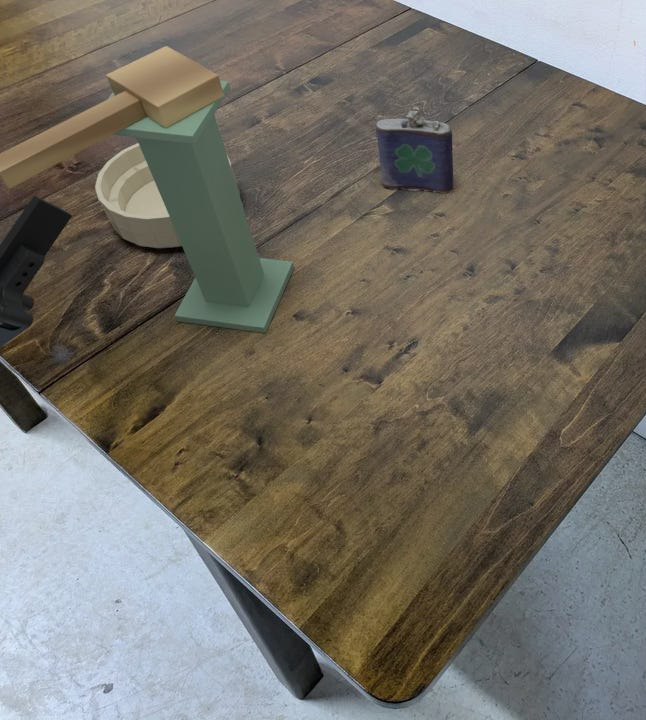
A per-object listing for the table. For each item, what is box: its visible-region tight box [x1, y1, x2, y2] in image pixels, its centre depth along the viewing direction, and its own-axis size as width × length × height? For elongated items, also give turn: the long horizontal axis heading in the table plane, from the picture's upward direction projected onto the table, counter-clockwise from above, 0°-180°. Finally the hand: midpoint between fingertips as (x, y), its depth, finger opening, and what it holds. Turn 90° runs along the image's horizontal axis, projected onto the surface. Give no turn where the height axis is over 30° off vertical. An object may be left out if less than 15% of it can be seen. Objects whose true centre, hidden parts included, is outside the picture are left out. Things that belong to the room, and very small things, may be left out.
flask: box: [375, 106, 454, 194], centre depth 89 cm, size 9×3×11 cm, turn 84°
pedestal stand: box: [106, 80, 295, 334], centre depth 71 cm, size 10×10×25 cm
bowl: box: [94, 142, 241, 249], centre depth 87 cm, size 15×15×6 cm
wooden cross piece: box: [0, 45, 224, 190], centre depth 58 cm, size 7×18×2 cm, turn 141°
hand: (3, 165), depth 54 cm, fingers open, 13 cm apart
